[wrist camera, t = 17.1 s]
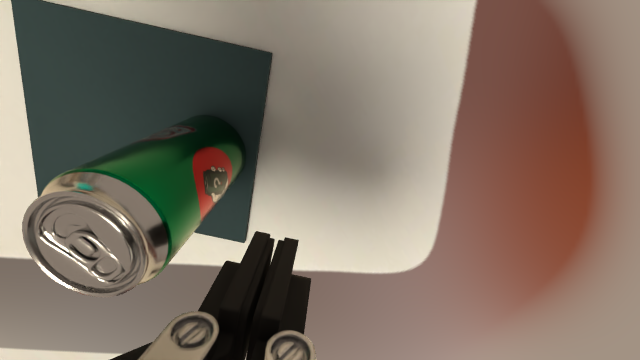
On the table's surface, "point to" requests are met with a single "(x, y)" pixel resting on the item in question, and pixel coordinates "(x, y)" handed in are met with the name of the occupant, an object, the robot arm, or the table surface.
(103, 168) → the soda can
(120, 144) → the mat
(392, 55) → the table surface
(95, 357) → the table surface
